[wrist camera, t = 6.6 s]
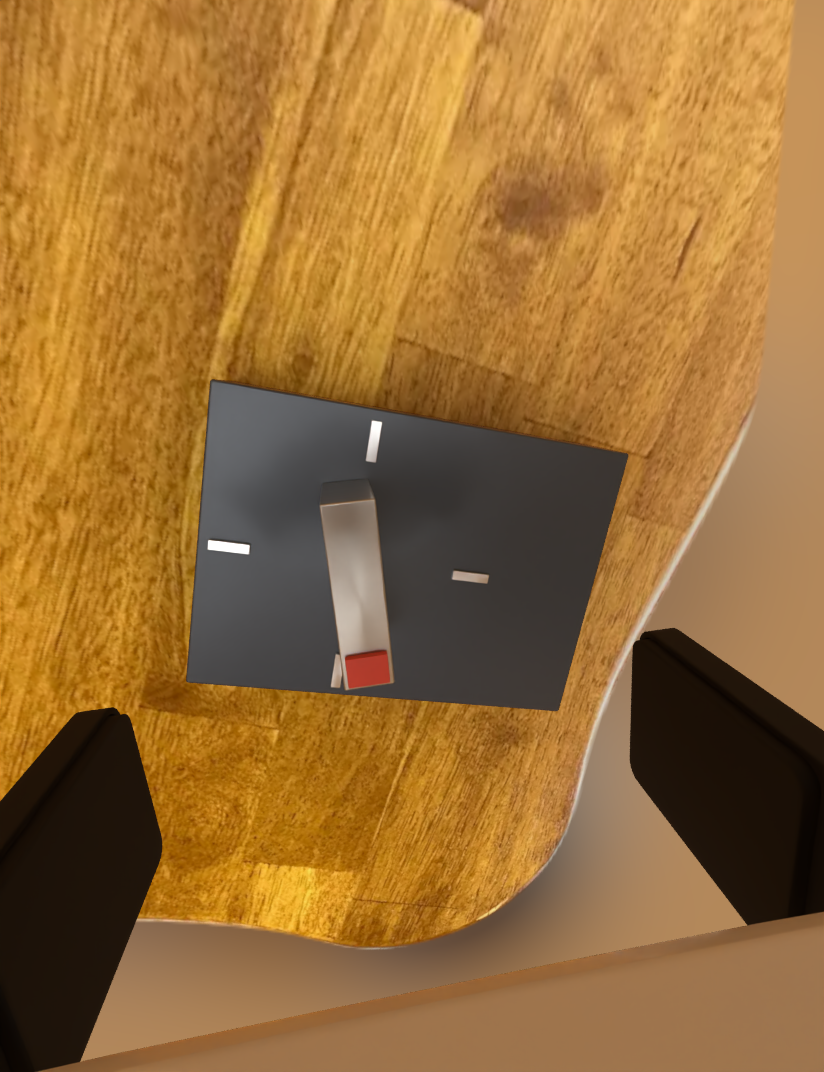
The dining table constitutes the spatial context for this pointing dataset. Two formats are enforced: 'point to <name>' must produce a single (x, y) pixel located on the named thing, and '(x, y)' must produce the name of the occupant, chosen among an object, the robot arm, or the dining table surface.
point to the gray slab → (357, 583)
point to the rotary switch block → (395, 548)
